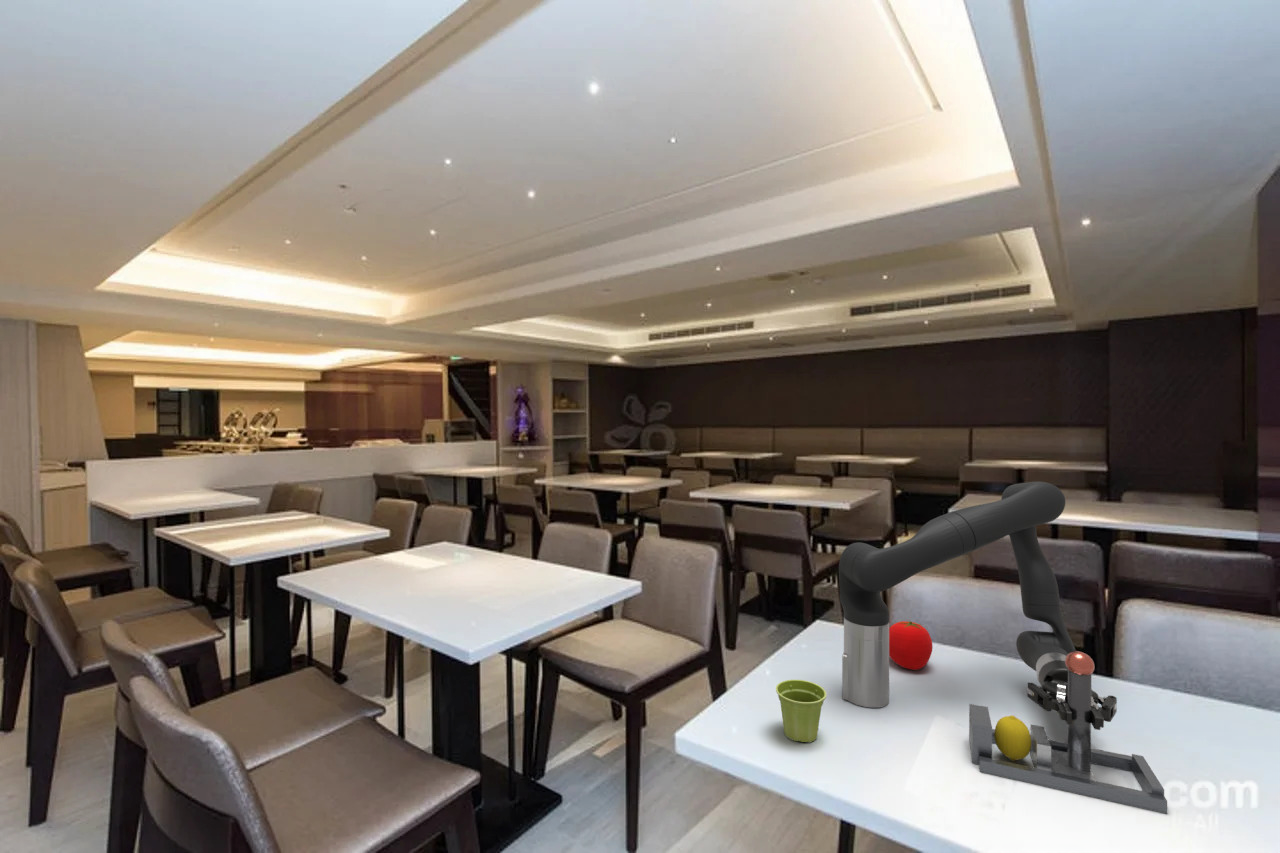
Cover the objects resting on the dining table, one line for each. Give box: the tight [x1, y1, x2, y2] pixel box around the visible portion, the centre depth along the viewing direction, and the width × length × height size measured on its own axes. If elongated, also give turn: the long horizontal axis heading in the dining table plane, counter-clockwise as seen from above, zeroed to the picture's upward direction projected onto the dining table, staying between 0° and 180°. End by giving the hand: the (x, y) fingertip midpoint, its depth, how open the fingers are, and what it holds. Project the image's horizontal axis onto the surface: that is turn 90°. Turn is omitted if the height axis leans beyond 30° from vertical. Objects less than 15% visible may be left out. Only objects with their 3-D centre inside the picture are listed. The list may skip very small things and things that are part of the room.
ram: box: [1029, 650, 1096, 781], centre depth 101 cm, size 8×8×21 cm
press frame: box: [968, 703, 1168, 814], centre depth 102 cm, size 26×13×7 cm, turn 64°
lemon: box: [994, 715, 1031, 762], centre depth 105 cm, size 6×6×8 cm
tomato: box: [889, 620, 934, 671], centre depth 144 cm, size 10×11×11 cm
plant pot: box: [775, 679, 827, 743], centre depth 113 cm, size 9×9×9 cm
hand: (1083, 721), depth 98 cm, fingers closed on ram, 3 cm apart
